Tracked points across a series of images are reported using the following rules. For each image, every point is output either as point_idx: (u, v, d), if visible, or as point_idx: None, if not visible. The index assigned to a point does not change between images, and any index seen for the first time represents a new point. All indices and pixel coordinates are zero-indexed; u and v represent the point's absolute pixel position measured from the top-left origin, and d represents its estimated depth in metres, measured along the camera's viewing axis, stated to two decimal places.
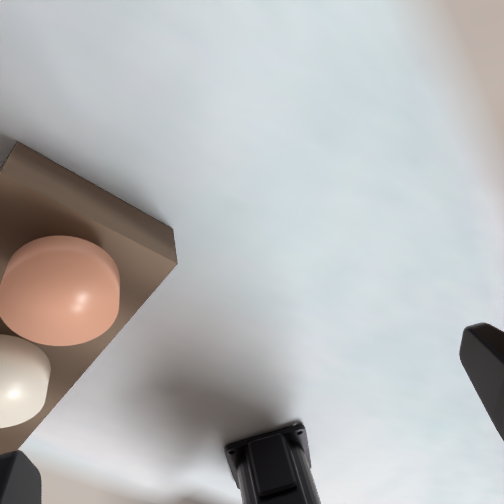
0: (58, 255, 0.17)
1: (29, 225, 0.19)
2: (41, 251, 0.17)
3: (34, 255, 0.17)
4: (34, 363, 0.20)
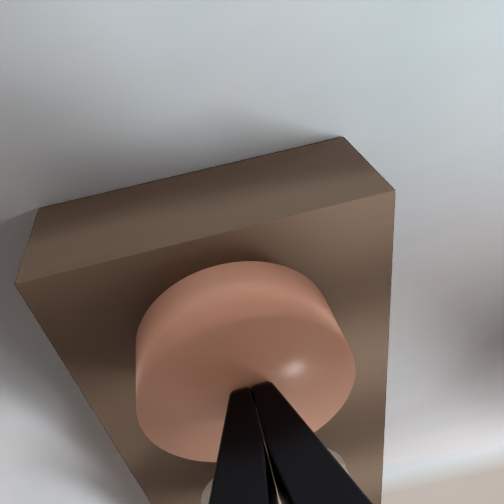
0: (171, 338, 0.08)
1: (130, 316, 0.10)
2: (148, 346, 0.09)
3: (143, 360, 0.09)
4: None
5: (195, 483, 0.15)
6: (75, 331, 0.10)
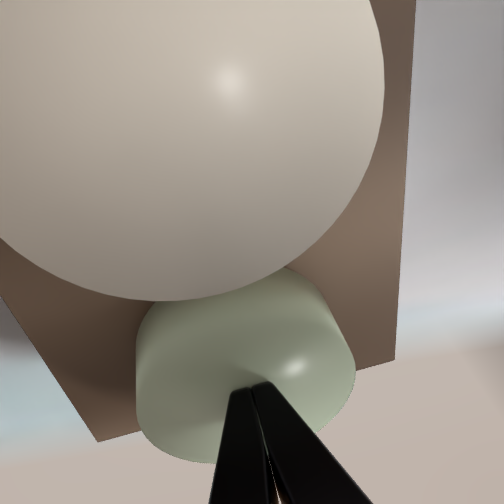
0: None
1: None
2: None
3: None
4: None
5: None
6: None
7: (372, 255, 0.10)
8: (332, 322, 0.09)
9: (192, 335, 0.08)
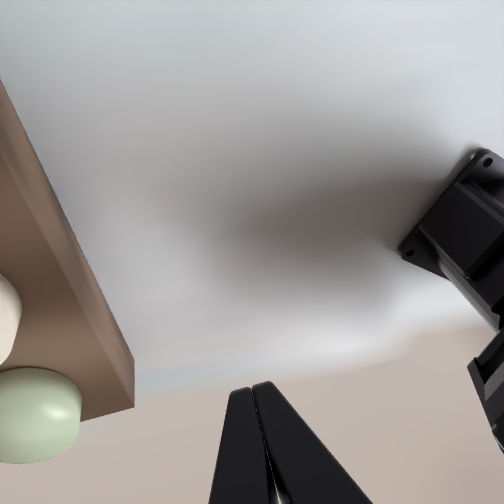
0: None
1: None
2: None
3: None
4: None
5: None
6: None
7: (92, 360, 0.20)
8: (58, 397, 0.19)
9: None
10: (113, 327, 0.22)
